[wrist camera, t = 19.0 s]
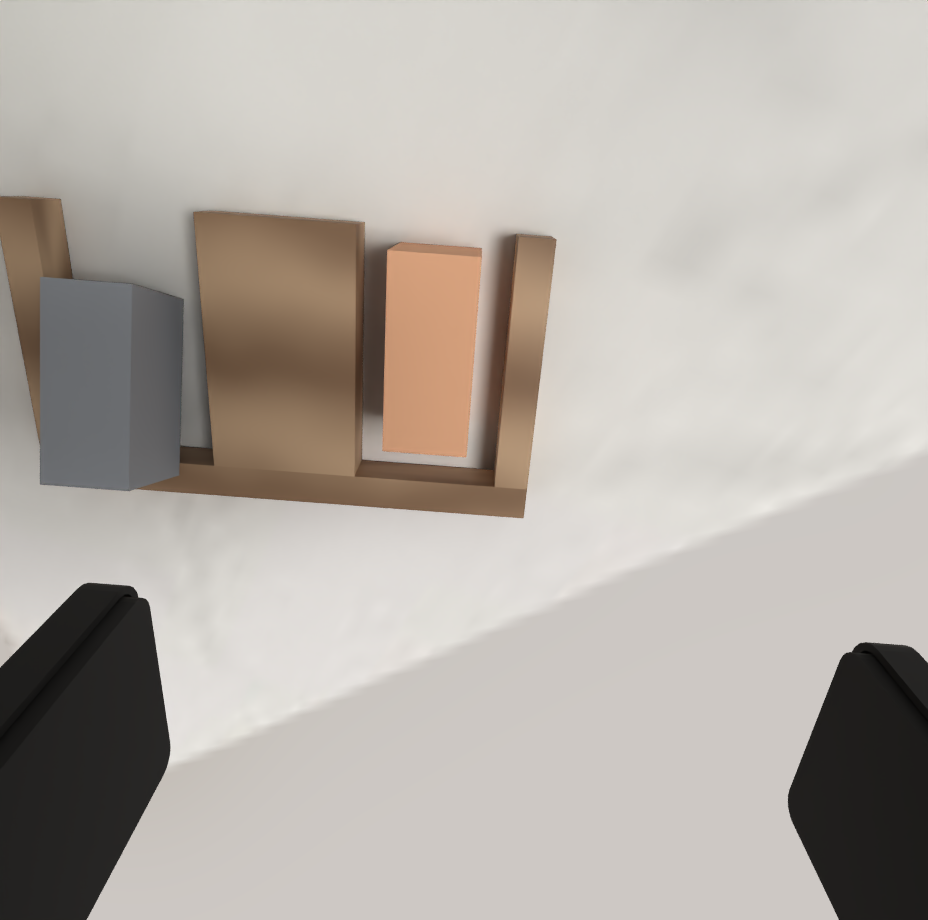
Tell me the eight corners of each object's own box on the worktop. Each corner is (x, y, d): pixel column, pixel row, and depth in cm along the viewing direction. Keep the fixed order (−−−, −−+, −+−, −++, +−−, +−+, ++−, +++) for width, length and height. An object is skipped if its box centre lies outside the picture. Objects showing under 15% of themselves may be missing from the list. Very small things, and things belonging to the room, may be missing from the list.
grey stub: (105, 293, 29) (40, 276, 25) (183, 299, 29) (132, 283, 25) (103, 469, 30) (39, 484, 26) (179, 475, 30) (128, 490, 26)
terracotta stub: (401, 242, 28) (387, 249, 24) (481, 247, 28) (481, 257, 24) (395, 416, 31) (382, 451, 27) (468, 422, 31) (466, 457, 27)
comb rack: (25, 196, 28) (-8, 196, 26) (551, 236, 28) (556, 239, 26) (71, 466, 32) (46, 482, 31) (521, 499, 32) (523, 518, 31)
